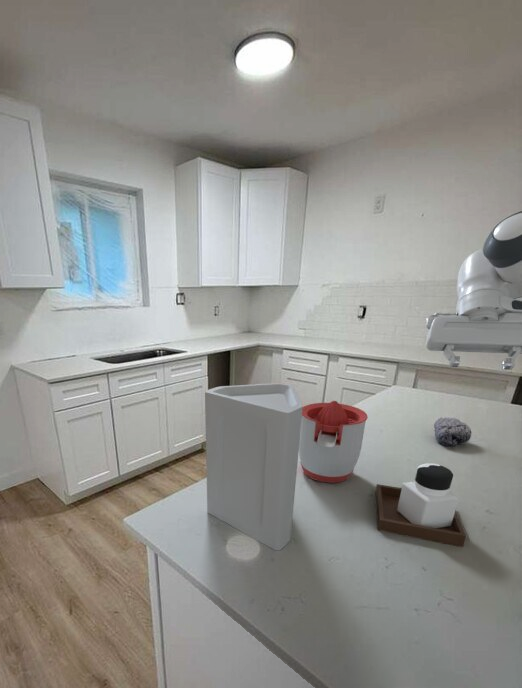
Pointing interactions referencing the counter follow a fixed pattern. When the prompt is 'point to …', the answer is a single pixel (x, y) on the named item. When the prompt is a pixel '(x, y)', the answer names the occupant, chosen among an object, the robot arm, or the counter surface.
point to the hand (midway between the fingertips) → (480, 366)
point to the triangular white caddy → (253, 458)
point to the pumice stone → (451, 431)
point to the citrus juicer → (330, 440)
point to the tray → (400, 525)
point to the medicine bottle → (429, 497)
